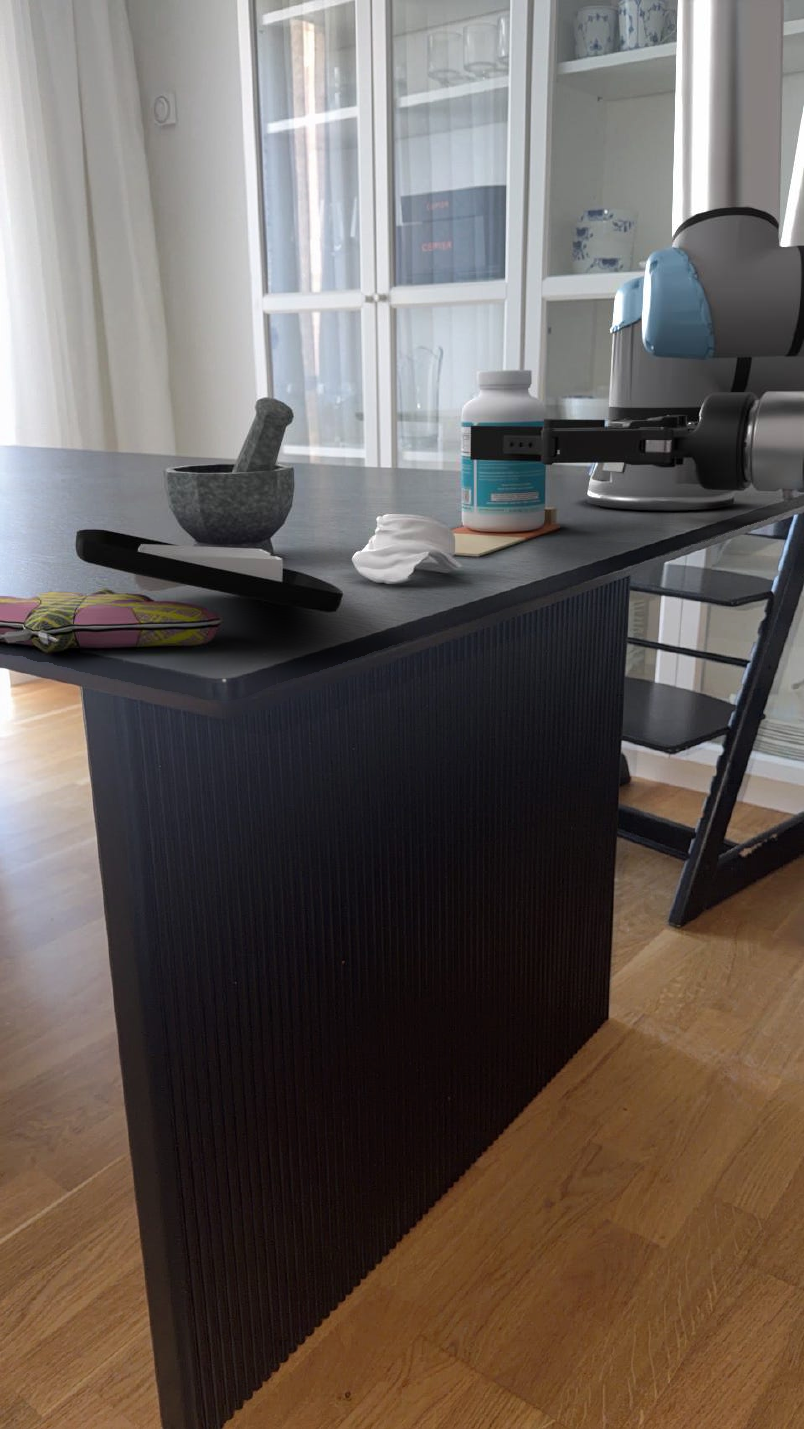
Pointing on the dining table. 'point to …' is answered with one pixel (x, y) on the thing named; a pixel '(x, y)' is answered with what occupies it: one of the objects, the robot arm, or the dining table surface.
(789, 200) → the robot arm
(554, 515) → the stop bar
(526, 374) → the pill bottle
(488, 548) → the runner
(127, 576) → the dining table surface
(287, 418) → the mortar and pestle
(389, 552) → the white folded cloth ring
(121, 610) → the patterned fabric pouch
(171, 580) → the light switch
